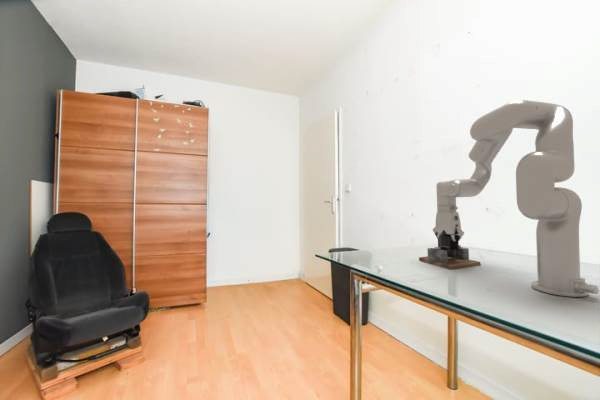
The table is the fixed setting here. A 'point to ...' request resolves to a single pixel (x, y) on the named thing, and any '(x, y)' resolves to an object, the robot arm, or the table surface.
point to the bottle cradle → (449, 258)
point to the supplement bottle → (447, 244)
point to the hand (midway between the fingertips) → (448, 248)
